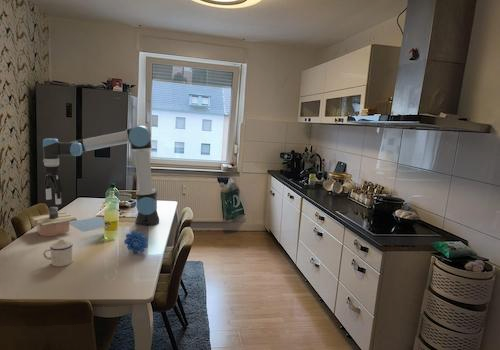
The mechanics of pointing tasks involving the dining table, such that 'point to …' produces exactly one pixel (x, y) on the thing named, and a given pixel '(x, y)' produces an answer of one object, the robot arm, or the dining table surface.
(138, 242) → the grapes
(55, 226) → the terracotta bowl
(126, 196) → the food container
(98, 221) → the slate mat
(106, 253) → the dining table surface
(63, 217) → the oak lid
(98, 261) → the dining table surface
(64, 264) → the teacup with lid
